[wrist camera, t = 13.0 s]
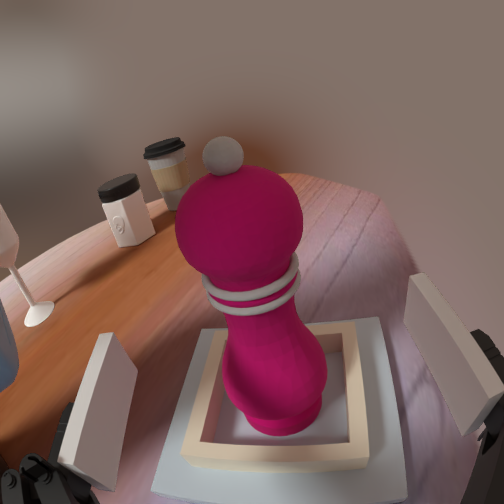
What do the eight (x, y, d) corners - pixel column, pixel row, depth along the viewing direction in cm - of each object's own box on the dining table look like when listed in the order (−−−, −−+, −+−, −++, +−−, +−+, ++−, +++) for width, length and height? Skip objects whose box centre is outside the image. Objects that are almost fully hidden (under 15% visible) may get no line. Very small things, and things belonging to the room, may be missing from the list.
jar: (110, 250, 58) (87, 194, 52) (127, 230, 65) (108, 179, 59) (147, 244, 56) (125, 184, 50) (163, 224, 63) (145, 169, 57)
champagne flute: (47, 322, 41) (-24, 181, 29) (19, 329, 40) (-50, 199, 28) (58, 297, 47) (-1, 168, 34) (31, 305, 46) (-28, 184, 34)
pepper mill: (229, 383, 26) (143, 148, 16) (308, 357, 27) (272, 114, 16) (249, 454, 20) (126, 184, 9) (343, 422, 20) (335, 130, 10)
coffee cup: (195, 193, 76) (179, 134, 68) (204, 204, 68) (186, 138, 60) (158, 206, 74) (140, 147, 66) (163, 219, 66) (141, 152, 58)
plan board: (158, 495, 18) (134, 480, 16) (205, 338, 33) (194, 311, 31) (403, 501, 14) (416, 488, 12) (377, 326, 30) (380, 296, 28)
